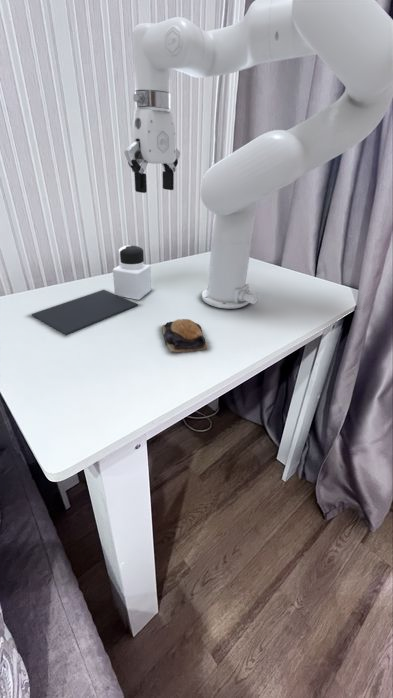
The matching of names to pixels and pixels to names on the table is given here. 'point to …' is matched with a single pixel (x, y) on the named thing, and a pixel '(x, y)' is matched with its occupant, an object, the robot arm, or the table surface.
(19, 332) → the table surface
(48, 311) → the mat
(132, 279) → the medicine bottle
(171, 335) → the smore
